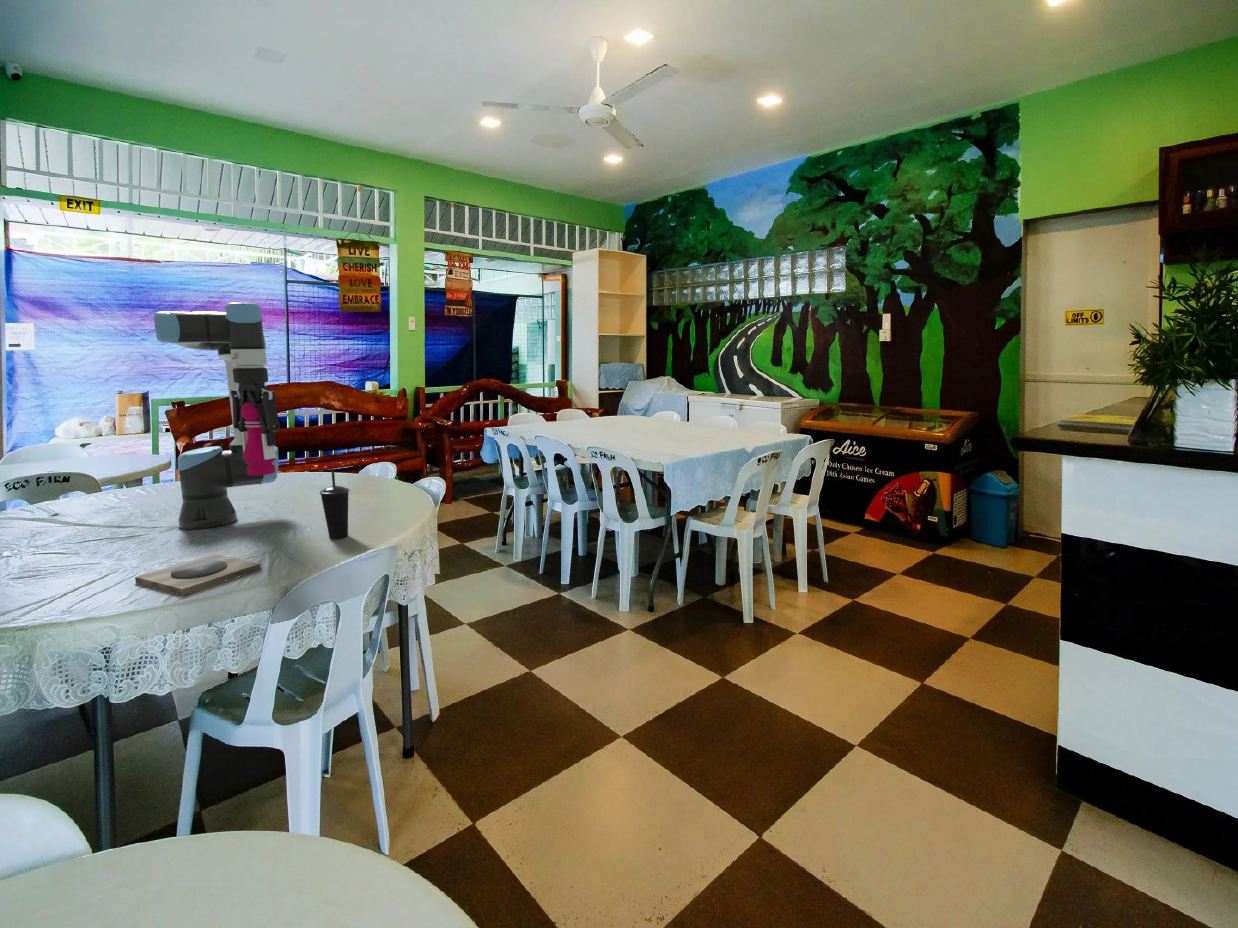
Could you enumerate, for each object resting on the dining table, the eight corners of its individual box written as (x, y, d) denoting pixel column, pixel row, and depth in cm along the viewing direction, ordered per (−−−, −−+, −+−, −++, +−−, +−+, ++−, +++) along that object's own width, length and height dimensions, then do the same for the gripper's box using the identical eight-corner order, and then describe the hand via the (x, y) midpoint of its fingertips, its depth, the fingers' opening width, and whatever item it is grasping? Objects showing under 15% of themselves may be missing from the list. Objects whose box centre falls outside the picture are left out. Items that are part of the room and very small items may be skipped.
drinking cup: (334, 542, 171) (328, 472, 167) (318, 538, 175) (311, 469, 171) (358, 535, 177) (353, 467, 173) (342, 531, 181) (336, 465, 177)
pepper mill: (269, 469, 163) (260, 393, 159) (283, 472, 159) (274, 394, 155) (240, 473, 157) (230, 395, 153) (253, 477, 153) (244, 396, 149)
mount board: (135, 583, 141) (134, 574, 141) (215, 559, 157) (214, 551, 157) (183, 595, 134) (182, 586, 133) (261, 569, 150) (260, 561, 149)
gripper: (209, 366, 154) (220, 456, 158) (262, 367, 145) (272, 462, 149) (238, 366, 160) (248, 452, 165) (290, 366, 152) (300, 457, 156)
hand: (260, 457), depth 157 cm, fingers closed on pepper mill, 7 cm apart
